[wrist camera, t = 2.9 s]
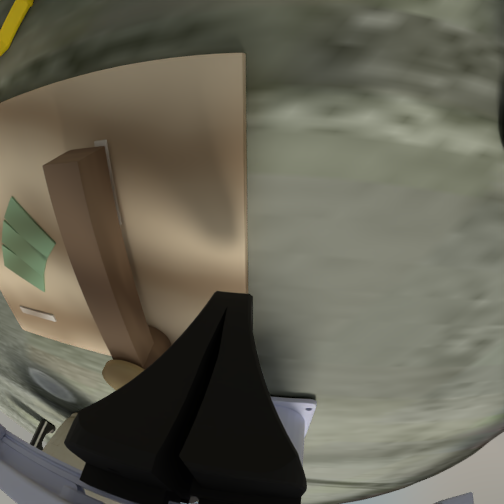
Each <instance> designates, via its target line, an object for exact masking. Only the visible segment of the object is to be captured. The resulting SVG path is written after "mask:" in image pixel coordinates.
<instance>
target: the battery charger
mask: <svg viewBox="0 0 504 504" xmlns="http://www.w3.org/2000/svg"><path fill="white" fill-rule="evenodd" d="M54 431H55V427H54V426H52V425H51V424H49V423H48V422H47V421H45V420H42V421H41V422H40V424H39V425H38V428H37V430H36V432H35V434H34V436H33V438H32V440H31V442H30V445H32V446H34V447H36V448H38V449H39V450H41V451H42V450H43V447H42V441H43V439H44V437H45V435H46V434H47V433H49V432H50V433H53V432H54Z"/></svg>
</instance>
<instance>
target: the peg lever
mask: <svg viewBox="0 0 504 504" xmlns="http://www.w3.org/2000/svg"><path fill="white" fill-rule="evenodd" d="M43 171H44V175H45V179H46V183H47V187H48V191H49V195H50V199H51V203H52V206H53V210H54V213H55V217H56V220H57V223H58V226H59V230H60V233H61V236H62V239H63V242H64V245H65V248H66V251H67V254H68V256H69V259H70V262H71V265H72V267H73V270H74V273H75V275H76V278H77V281H78V283H79V286H80V288H81V291H82V293H83V295H84V298H85V300H86V303H87V305H88V307H89V310H90V312H91V314H92V316H93V319H94V321H95V323H96V325H97V327H98V329H99V332H100V334H101V336H102V338H103V340H104V342H105V344H106V346H107V348H108V350H109V352H110V354H111V356H112V358H113V360H110V361H108V362H107V363H106V365H105V367H104V369H103V371H102V375H103V377H104V379H105V380H106V382H107V383H108V384H109V385H110V386H111V387H113V388H114V389H115V390H118V389H119V388H121V387H122V386H124V385H125V384H127V383H128V382H130V381H131V380H132V379H134V378H135V377H136V376H138V375H139V374H140V373H141V372H143V371H144V370H145V369H146V368H148V367H149V366H150V365H151V364H152V363H153V362H155V361H156V360H157V359H158V358H159V357H160V356H161V355H162V354H163V353H164V352H165V351H166V350H167V349H168V348H169V347H170V346H171V343H170V340H169V339H168V337H167V336H166V335H165V334H164V333H163V332H161V331H160V330H158V329H156V328H154V327H152V326H150V325H148V324H147V321H146V318H145V315H144V312H143V309H142V306H141V302H140V299H139V296H138V292H137V289H136V286H135V282H134V279H133V275H132V271H131V268H130V264H129V260H128V256H127V253H126V249H125V245H124V241H123V237H122V232H121V228H120V224H119V219H118V215H117V210H116V206H115V201H114V196H113V191H112V186H111V180H110V175H109V169H108V163H107V157H106V151H105V146H99V147H90V148H81V149H73V150H69V151H67V152H65V153H64V154H62V155H60V156H58V157H56V158H55V159H53V160H51V161H50V162H48V163H46V164H44V165H43Z"/></svg>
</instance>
